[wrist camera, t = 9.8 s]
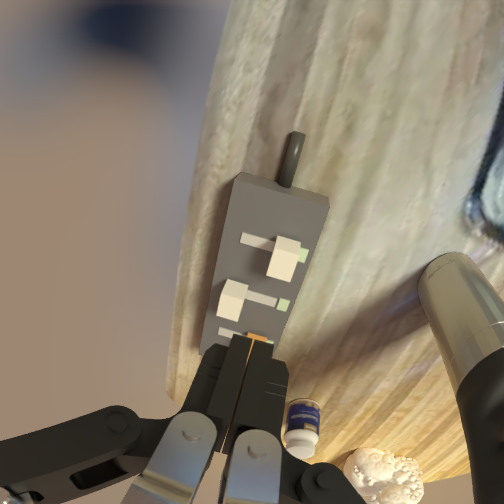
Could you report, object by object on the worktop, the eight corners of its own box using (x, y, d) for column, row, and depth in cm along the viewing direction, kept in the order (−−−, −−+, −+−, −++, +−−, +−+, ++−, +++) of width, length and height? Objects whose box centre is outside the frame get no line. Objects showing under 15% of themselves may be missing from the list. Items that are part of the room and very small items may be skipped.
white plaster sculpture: (336, 475, 47) (415, 519, 37) (383, 410, 61) (449, 448, 50) (310, 498, 57) (374, 536, 46) (354, 445, 70) (410, 478, 60)
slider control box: (253, 120, 32) (247, 122, 29) (344, 146, 32) (348, 151, 28) (205, 338, 47) (197, 355, 44) (268, 357, 47) (264, 375, 44)
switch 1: (222, 300, 38) (216, 315, 36) (227, 278, 37) (221, 293, 34) (242, 306, 38) (237, 321, 36) (248, 285, 37) (243, 300, 34)
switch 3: (269, 261, 35) (266, 275, 32) (277, 235, 33) (274, 248, 31) (291, 267, 35) (290, 282, 32) (300, 242, 33) (299, 255, 31)
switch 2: (243, 348, 42) (238, 364, 39) (248, 332, 40) (243, 348, 37) (261, 354, 41) (257, 370, 39) (267, 337, 40) (263, 354, 37)
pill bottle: (321, 397, 50) (319, 446, 41) (319, 415, 52) (316, 461, 44) (288, 396, 51) (281, 444, 42) (288, 414, 53) (281, 459, 45)
